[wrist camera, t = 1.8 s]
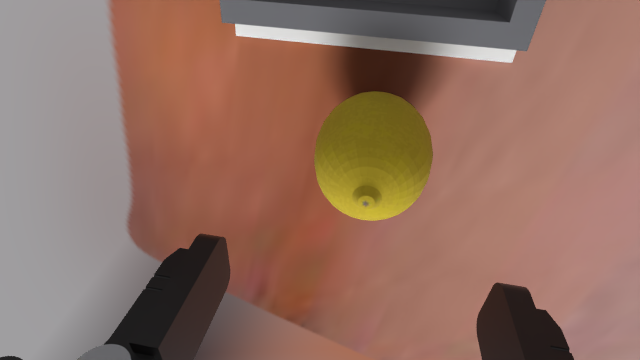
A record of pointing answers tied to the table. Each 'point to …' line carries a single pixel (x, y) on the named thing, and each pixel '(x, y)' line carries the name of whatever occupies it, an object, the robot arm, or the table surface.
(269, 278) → the table surface
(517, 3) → the gray open tray
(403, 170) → the lemon
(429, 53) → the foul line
